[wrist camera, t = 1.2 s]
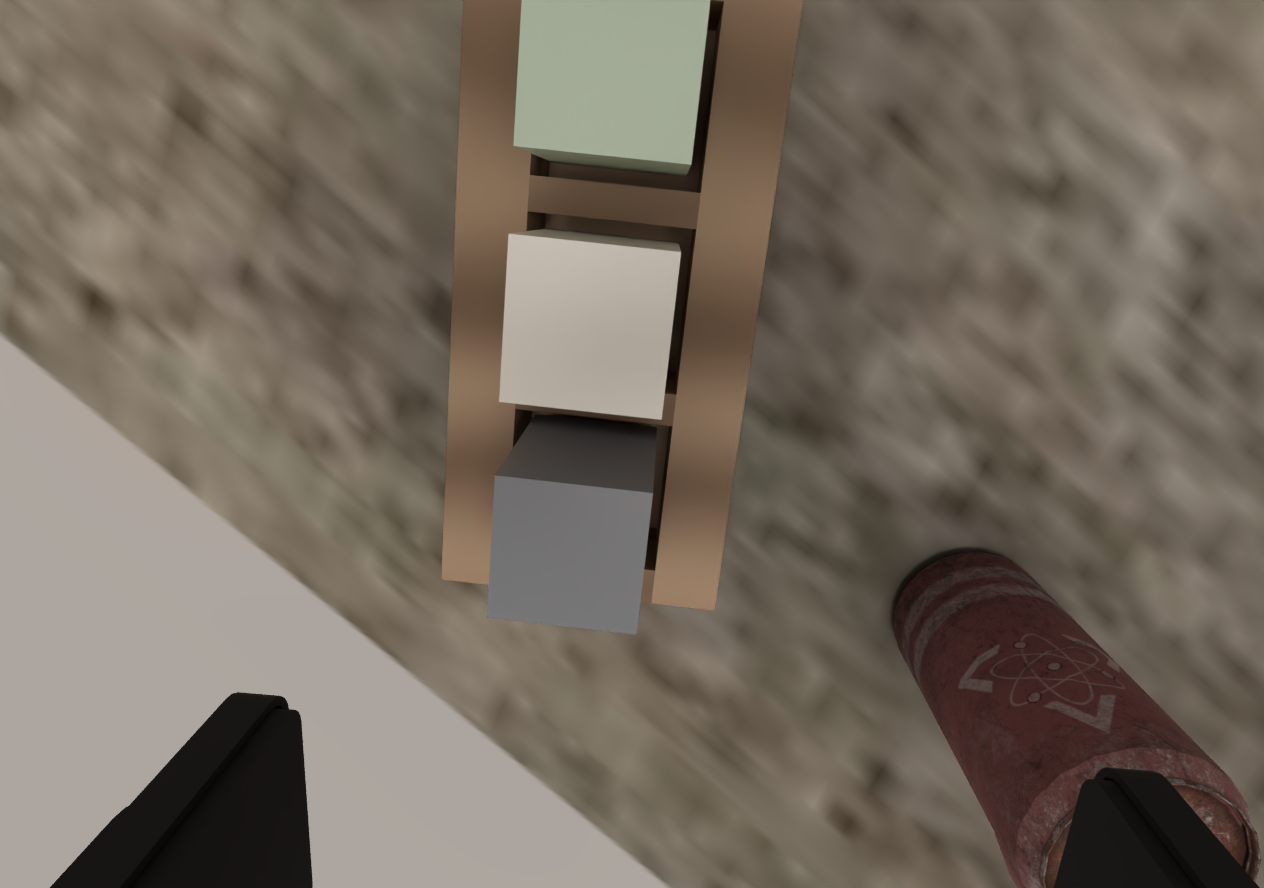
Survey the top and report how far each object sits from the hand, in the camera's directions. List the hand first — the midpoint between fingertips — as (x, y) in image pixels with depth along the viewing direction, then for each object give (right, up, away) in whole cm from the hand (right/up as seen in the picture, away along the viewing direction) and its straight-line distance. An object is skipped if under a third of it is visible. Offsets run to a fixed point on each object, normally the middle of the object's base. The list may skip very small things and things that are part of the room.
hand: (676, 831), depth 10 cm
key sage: (-1, +16, +16) cm, 23 cm away
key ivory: (-1, +10, +18) cm, 20 cm away
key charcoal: (-2, +3, +20) cm, 20 cm away
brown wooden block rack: (-1, +11, +21) cm, 24 cm away
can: (+14, -3, +25) cm, 28 cm away
